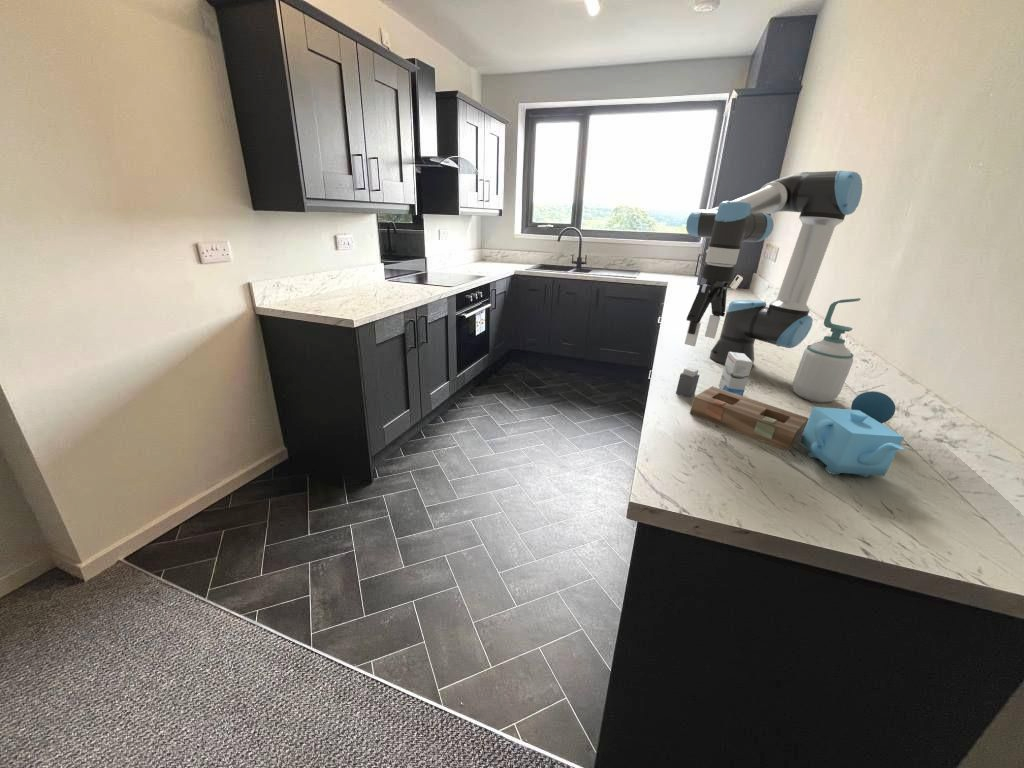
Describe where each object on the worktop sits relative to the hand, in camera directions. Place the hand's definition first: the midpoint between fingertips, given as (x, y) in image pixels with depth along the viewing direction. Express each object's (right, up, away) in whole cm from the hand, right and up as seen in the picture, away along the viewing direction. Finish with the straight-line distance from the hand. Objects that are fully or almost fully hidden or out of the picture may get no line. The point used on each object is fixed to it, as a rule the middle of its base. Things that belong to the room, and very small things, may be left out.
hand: (700, 341), depth 118 cm
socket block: (+7, -23, -9) cm, 26 cm away
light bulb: (+37, -26, -11) cm, 46 cm away
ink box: (+14, -15, +11) cm, 23 cm away
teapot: (+19, -32, -27) cm, 46 cm away
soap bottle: (+40, -16, +11) cm, 45 cm away
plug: (-1, -15, +7) cm, 17 cm away
